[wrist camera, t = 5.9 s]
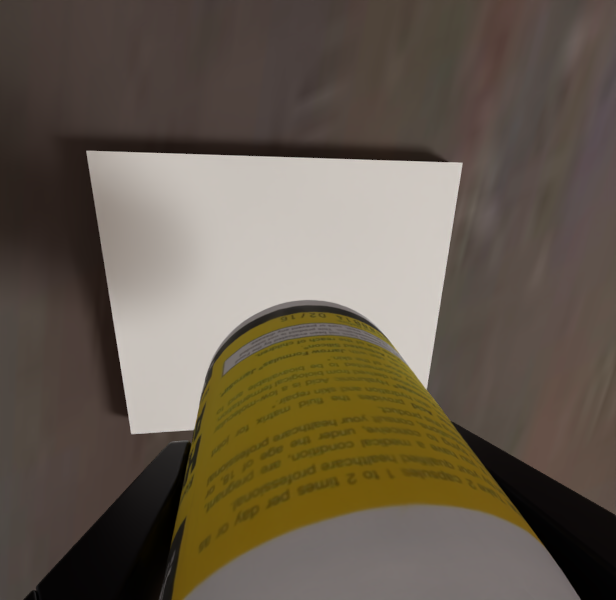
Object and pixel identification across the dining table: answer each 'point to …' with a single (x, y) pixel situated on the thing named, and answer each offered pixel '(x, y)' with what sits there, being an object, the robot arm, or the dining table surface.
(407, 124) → the dining table surface
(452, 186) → the ceramic tile
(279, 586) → the supplement bottle
